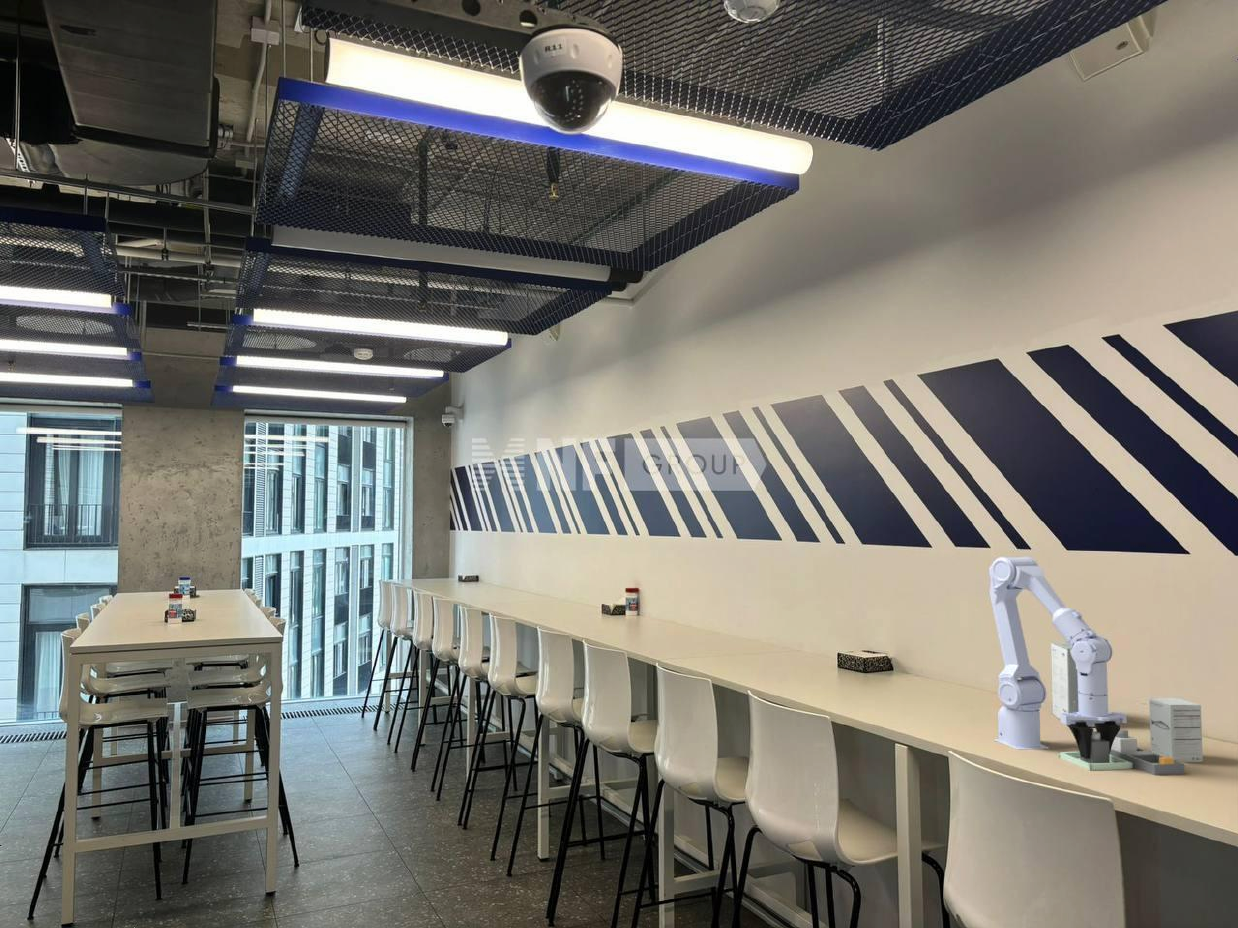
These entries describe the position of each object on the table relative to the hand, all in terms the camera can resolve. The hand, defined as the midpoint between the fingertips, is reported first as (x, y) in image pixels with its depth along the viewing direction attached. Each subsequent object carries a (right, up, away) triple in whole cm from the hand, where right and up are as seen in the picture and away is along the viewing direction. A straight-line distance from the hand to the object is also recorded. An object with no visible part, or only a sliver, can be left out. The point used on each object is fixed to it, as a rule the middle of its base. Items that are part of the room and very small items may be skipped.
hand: (1094, 757), depth 191 cm
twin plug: (+9, -2, +5) cm, 10 cm away
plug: (0, -1, 0) cm, 1 cm away
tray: (0, -2, 0) cm, 2 cm away
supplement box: (+22, -3, +6) cm, 23 cm away
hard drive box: (+18, -5, +44) cm, 48 cm away
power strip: (+10, -2, 0) cm, 10 cm away
